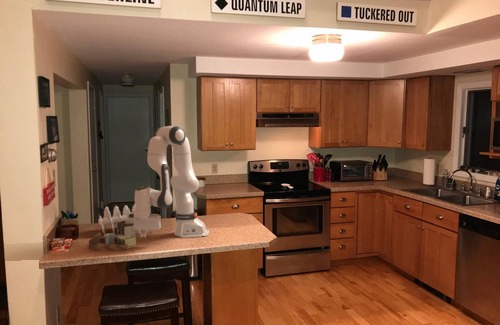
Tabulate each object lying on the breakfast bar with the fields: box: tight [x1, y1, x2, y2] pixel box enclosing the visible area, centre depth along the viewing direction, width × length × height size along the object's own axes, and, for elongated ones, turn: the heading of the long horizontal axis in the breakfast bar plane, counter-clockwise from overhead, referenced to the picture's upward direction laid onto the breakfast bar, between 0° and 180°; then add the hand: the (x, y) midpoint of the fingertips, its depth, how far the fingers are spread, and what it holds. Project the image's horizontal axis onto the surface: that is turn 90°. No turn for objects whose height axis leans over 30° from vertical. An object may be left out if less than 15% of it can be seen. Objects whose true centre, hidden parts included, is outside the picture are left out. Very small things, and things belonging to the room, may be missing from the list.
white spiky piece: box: [98, 203, 136, 235], centre depth 262 cm, size 18×18×25 cm
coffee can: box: [116, 221, 137, 250], centre depth 232 cm, size 10×10×14 cm
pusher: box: [103, 232, 116, 245], centre depth 232 cm, size 4×12×7 cm, turn 1°
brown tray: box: [88, 232, 128, 252], centre depth 232 cm, size 21×16×6 cm
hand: (143, 236), depth 232 cm, fingers closed
